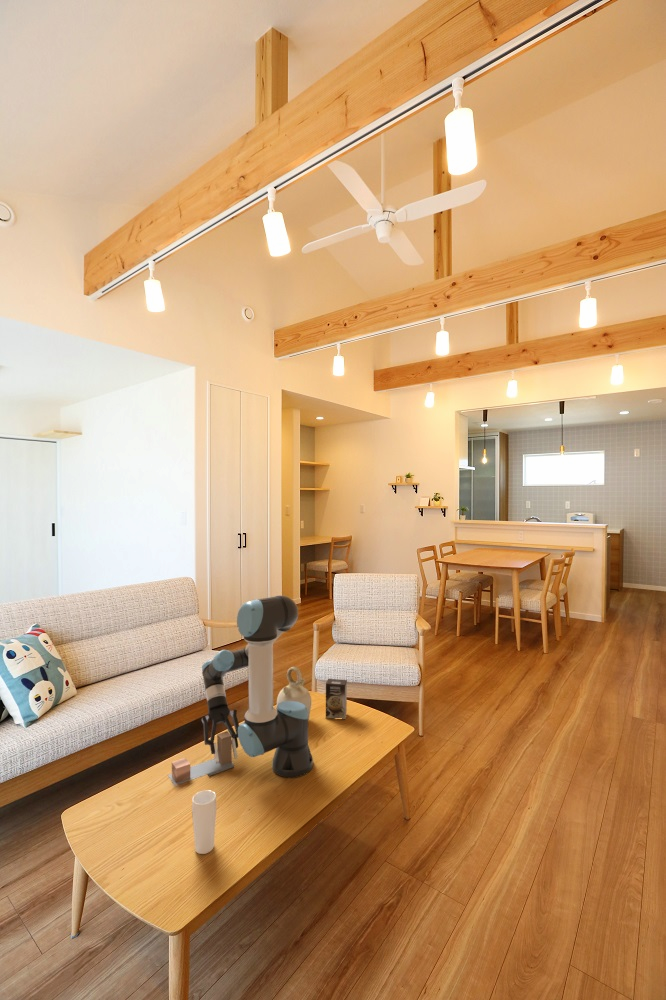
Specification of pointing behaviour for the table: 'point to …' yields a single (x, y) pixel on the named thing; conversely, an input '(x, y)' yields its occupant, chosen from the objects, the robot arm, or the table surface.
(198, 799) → the drinking glass
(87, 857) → the table surface
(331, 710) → the coffee box
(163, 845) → the table surface
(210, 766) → the strip
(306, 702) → the jug
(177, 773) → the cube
